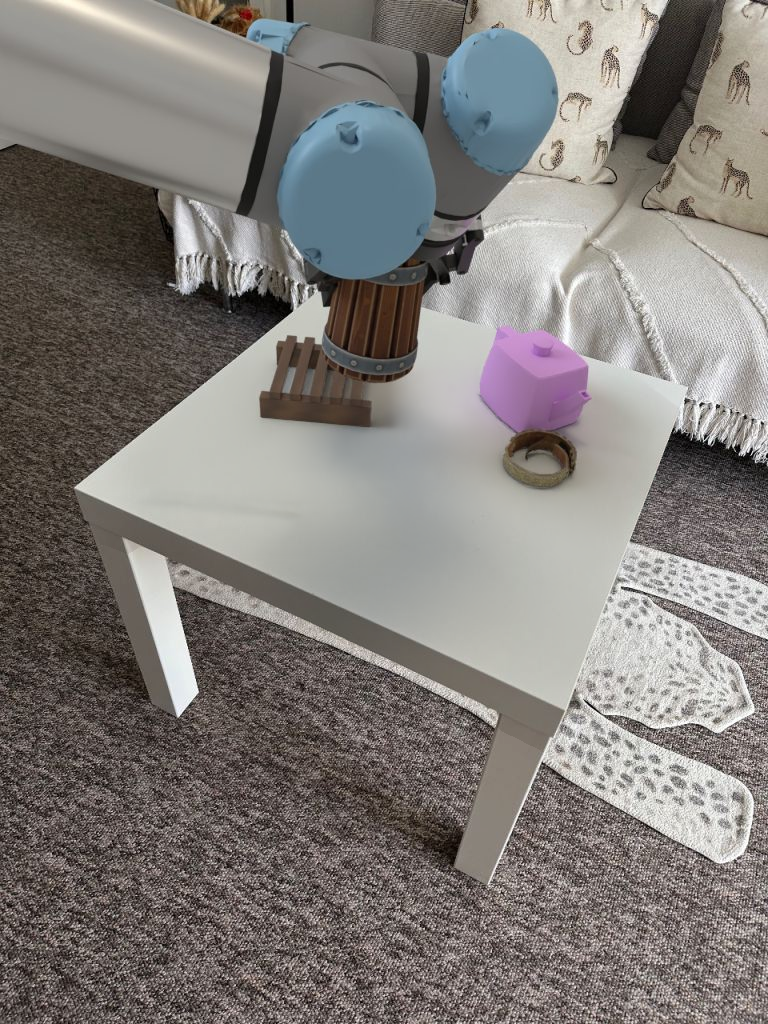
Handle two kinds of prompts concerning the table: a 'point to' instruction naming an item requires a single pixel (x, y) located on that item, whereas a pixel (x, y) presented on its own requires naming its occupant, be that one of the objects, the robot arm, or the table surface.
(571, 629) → the table surface
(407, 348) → the mug
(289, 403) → the drying rack
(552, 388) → the teapot
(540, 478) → the bracelet
